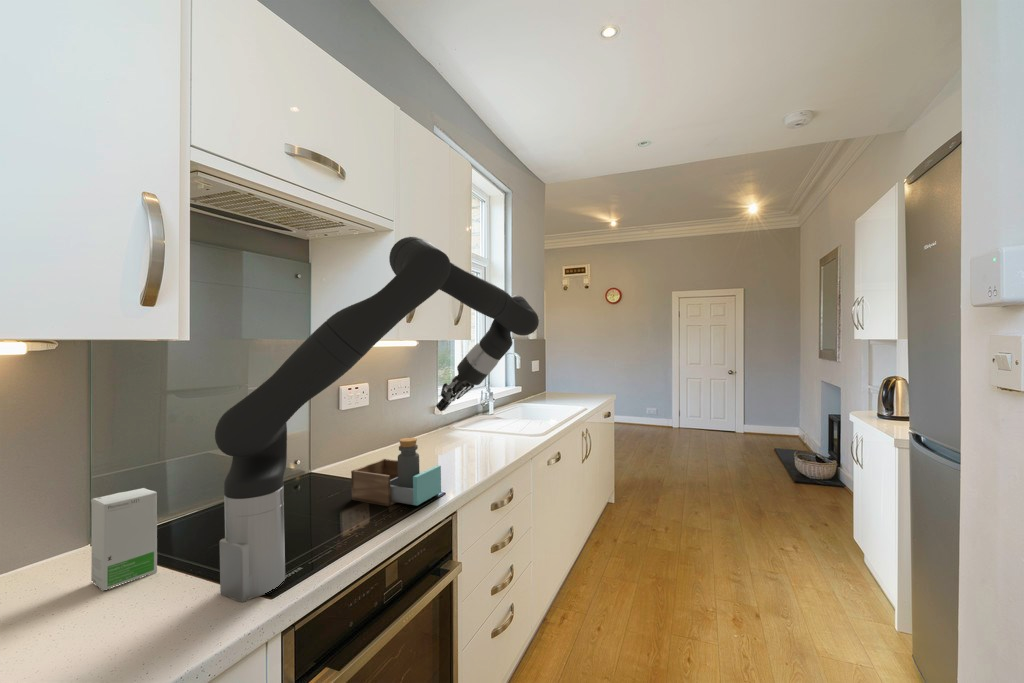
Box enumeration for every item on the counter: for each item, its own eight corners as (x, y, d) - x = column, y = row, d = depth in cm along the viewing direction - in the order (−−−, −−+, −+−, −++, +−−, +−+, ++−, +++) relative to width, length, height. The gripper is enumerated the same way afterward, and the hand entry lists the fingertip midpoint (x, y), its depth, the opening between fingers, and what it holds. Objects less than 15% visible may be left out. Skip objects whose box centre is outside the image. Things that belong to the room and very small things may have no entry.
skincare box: (102, 593, 77) (101, 505, 77) (89, 583, 81) (87, 499, 81) (159, 571, 85) (158, 491, 85) (145, 563, 88) (144, 485, 88)
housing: (388, 506, 116) (388, 476, 116) (351, 499, 122) (351, 470, 122) (419, 490, 128) (419, 463, 128) (384, 484, 134) (384, 458, 134)
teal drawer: (417, 505, 114) (416, 477, 114) (380, 499, 119) (380, 471, 119) (441, 492, 124) (440, 465, 124) (406, 486, 129) (406, 461, 129)
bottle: (420, 495, 119) (419, 440, 119) (398, 498, 117) (397, 442, 117) (418, 488, 125) (417, 436, 125) (397, 491, 123) (396, 438, 123)
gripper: (475, 375, 105) (433, 423, 110) (499, 371, 117) (461, 415, 122) (456, 353, 107) (416, 401, 112) (482, 351, 119) (444, 395, 124)
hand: (439, 408), depth 117 cm, fingers closed
